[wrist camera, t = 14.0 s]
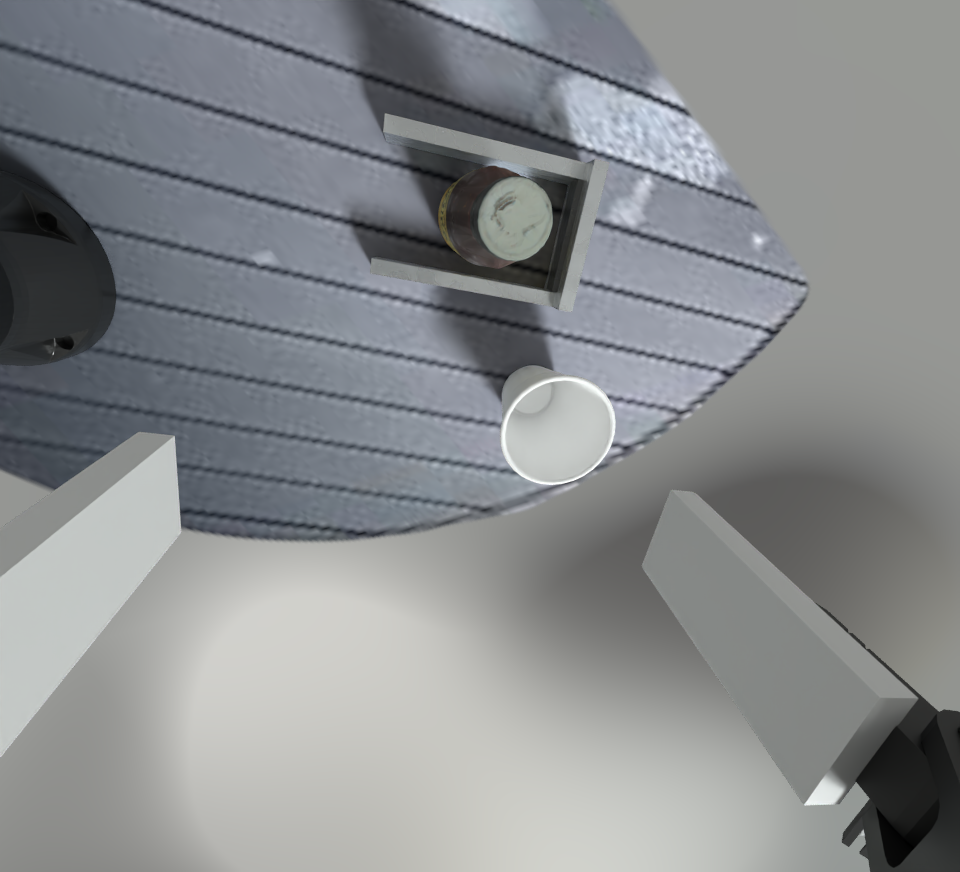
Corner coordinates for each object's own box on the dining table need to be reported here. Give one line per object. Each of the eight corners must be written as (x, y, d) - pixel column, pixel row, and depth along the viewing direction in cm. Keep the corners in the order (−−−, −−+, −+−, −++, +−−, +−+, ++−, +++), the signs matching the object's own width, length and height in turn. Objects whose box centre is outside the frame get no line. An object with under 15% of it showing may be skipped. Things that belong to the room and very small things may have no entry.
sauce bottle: (433, 182, 40) (445, 137, 22) (504, 177, 40) (574, 128, 22) (441, 262, 43) (458, 282, 24) (508, 257, 43) (573, 271, 25)
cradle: (374, 270, 42) (367, 275, 37) (388, 125, 38) (383, 106, 32) (553, 303, 45) (571, 312, 40) (584, 172, 41) (609, 162, 36)
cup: (536, 452, 51) (564, 504, 41) (464, 404, 48) (476, 448, 38) (594, 381, 49) (639, 418, 39) (523, 326, 46) (552, 351, 36)
